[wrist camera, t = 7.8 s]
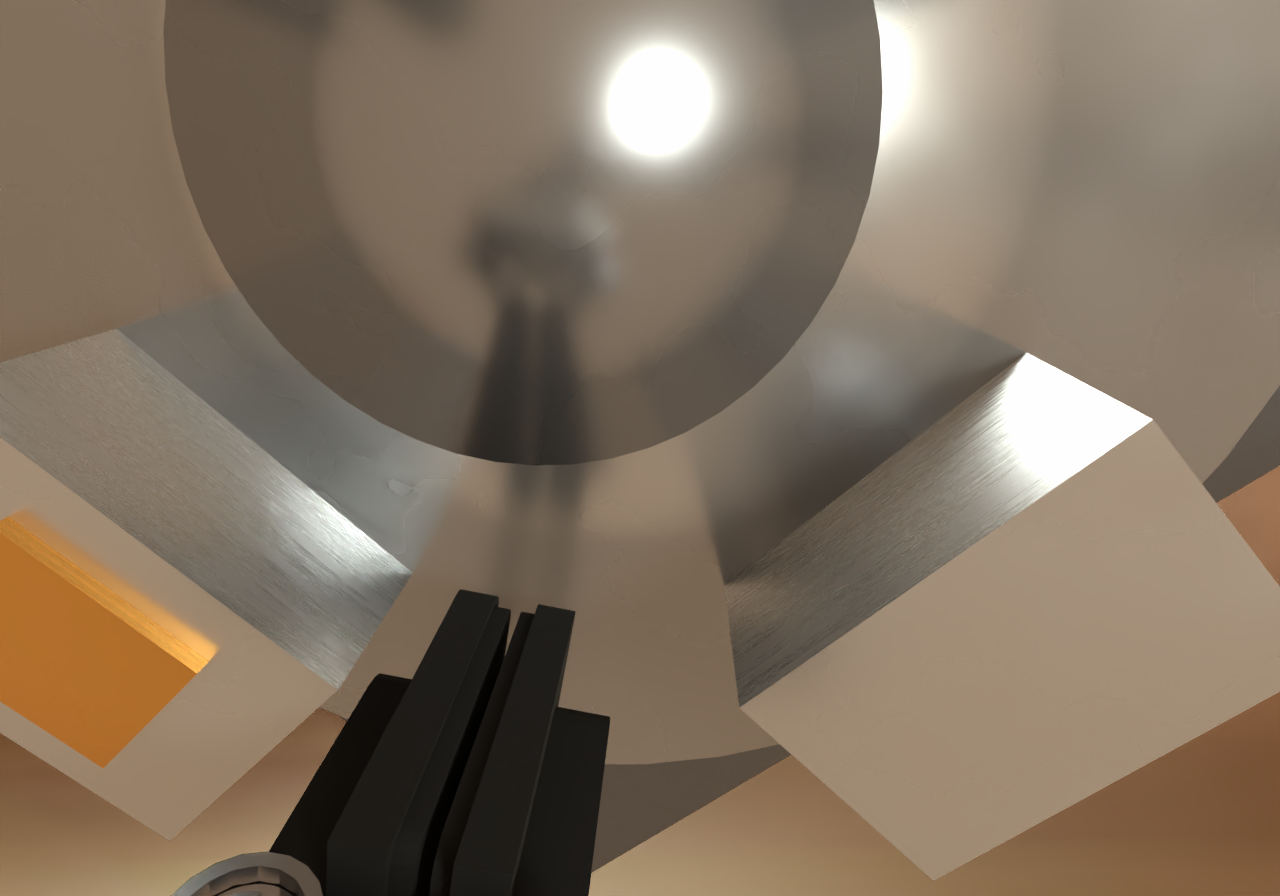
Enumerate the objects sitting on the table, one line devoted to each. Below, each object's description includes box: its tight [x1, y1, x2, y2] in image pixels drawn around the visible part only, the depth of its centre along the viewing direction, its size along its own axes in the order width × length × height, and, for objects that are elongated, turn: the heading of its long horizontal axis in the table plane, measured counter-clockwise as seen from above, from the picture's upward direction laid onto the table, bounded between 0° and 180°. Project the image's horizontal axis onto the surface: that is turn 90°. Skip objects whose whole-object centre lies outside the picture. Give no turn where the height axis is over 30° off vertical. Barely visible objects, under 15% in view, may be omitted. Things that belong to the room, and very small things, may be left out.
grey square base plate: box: [340, 386, 1280, 873], centre depth 11 cm, size 22×22×2 cm
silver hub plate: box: [0, 0, 1280, 881], centre depth 8 cm, size 18×18×5 cm
